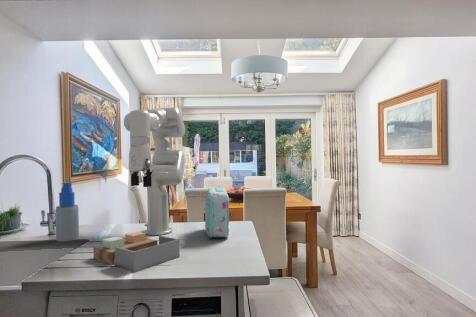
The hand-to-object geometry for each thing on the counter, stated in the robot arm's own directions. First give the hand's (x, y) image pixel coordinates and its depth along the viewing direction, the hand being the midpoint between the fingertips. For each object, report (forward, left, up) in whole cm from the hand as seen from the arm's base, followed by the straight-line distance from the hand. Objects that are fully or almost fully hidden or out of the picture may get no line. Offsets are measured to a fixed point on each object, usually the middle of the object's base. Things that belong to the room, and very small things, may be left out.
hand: (141, 186), depth 120 cm
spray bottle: (-41, -10, -24) cm, 48 cm away
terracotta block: (+2, -4, -20) cm, 20 cm away
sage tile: (+2, -13, -20) cm, 24 cm away
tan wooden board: (+3, -9, -24) cm, 26 cm away
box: (+16, -9, -24) cm, 30 cm away
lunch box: (+9, +33, -24) cm, 42 cm away
